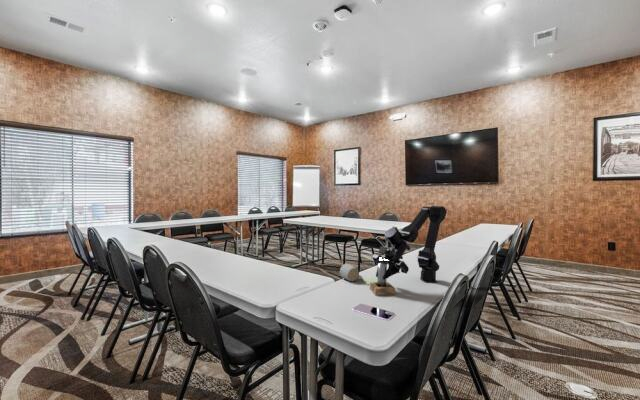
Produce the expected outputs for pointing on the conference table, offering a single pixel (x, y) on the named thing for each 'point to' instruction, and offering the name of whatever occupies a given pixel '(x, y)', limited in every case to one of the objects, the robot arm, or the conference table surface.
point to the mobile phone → (374, 312)
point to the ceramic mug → (349, 272)
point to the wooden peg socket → (382, 289)
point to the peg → (381, 274)
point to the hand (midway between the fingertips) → (379, 277)
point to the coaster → (369, 280)
